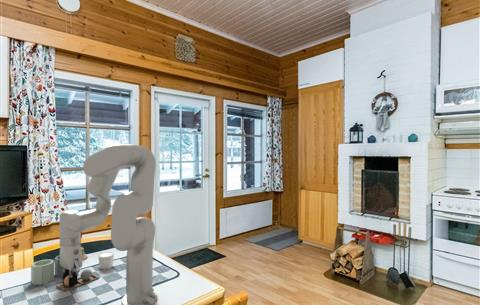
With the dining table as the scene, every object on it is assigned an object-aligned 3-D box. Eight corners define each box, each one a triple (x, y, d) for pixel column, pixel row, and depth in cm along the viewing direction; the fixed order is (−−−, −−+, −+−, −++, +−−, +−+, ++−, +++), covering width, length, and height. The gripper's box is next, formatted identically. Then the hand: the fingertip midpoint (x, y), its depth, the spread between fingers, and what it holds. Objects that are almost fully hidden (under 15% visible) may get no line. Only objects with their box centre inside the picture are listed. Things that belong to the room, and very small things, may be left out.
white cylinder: (107, 272, 130) (107, 257, 130) (95, 271, 132) (95, 256, 132) (116, 266, 137) (116, 252, 137) (104, 265, 138) (104, 251, 138)
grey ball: (93, 279, 121) (93, 269, 121) (83, 283, 118) (83, 272, 118) (88, 276, 124) (88, 266, 124) (78, 280, 120) (78, 270, 120)
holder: (98, 280, 122) (98, 276, 122) (64, 294, 110) (64, 289, 110) (90, 276, 126) (90, 272, 126) (56, 289, 114) (56, 285, 114)
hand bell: (70, 257, 149) (71, 227, 149) (88, 254, 152) (88, 226, 152) (68, 262, 141) (68, 231, 141) (87, 260, 145) (87, 230, 145)
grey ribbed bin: (77, 274, 128) (78, 255, 128) (60, 280, 122) (60, 260, 122) (69, 270, 133) (69, 252, 133) (52, 275, 126) (52, 257, 126)
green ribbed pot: (56, 281, 121) (56, 261, 121) (36, 288, 115) (36, 267, 115) (48, 277, 125) (48, 258, 125) (28, 283, 119) (28, 263, 119)
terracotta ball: (78, 285, 116) (78, 274, 116) (66, 289, 112) (67, 278, 112) (73, 282, 118) (73, 272, 118) (61, 286, 114) (61, 275, 114)
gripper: (90, 241, 114) (89, 286, 114) (69, 234, 123) (69, 275, 123) (70, 246, 107) (70, 293, 107) (51, 239, 117) (50, 282, 117)
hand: (70, 283), depth 115 cm, fingers closed on terracotta ball, 4 cm apart
